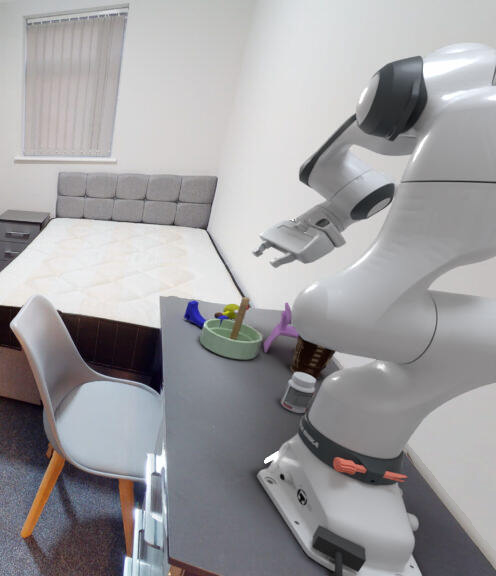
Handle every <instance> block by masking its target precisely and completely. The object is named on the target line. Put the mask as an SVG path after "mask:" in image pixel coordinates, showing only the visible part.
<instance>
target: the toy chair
mask: <svg viewBox="0 0 496 576" xmlns="http://www.w3.org/2000/svg"><path fill="white" fill-rule="evenodd" d="M291 311H292V308H291V307H290V305H289V302H285V303H284V310H282V311H281V315H280V321H279V322H278V323H276V325H275V326H274V327H273V329H272V331H271V333H269V336H268V337H267V338H266V339H265V341H264V342H263V350H264V353H267V352H268V350H269V349H270V347H271V345H272V344H273V343H274V341H275V340H276V339H277V338H278V337H281V336H283V337H288V338H294V339H297V340H298V333H297V331H296V329H295V327H294V326H291V325H293V322H292V317H291Z"/></svg>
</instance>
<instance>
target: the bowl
mask: <svg viewBox="0 0 496 576" xmlns="http://www.w3.org/2000/svg"><path fill="white" fill-rule="evenodd" d="M206 320H207V321H205V323H204V325H203V328H202V329H201V332H200V336H199V341H200V343H201V345H202V346H203V347H204V348H206V349H207V350H209V351H210V352H213V353H214V354H217V355H219V356H222V357H225V358H228V359H232V360H233V359H234V360H252V359H254V358H256V357H257V356H258V353H259V350H260V348H261V345H262V342H263V338H264V337H263V335H262V333H261V332H260V331H259V330H257V328H254V327H252V326H250V325H248V324H245V323H243V322H242V325H241V328H240V331H239V334H238V338H237V340H233V339H229V338H230V335H231V332H232V329H233V326H234V323H235V320H233V319H232V320H230V319H229V320H227V319H224V320H223V321H222V323H221V325H220V322H221V320H220V319H216V318H210V319H206ZM219 326H220V327H219Z"/></svg>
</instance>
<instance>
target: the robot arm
mask: <svg viewBox="0 0 496 576" xmlns="http://www.w3.org/2000/svg"><path fill="white" fill-rule="evenodd" d="M354 145H355V146H358V147H361V148H364V149H366V150H368V151H370V152H373V153H375V154H378V155H381V156H388V157H389V156H390V157H402V156H403V157H405V156H410V157H409V159H408V161H407V164H406V166H405V169H404V171H403V173H402V176H401V179H400V180H399V183H398V182H397V181H396V180H395V179H394V178H393V176H391V175H390V174H388V173H385V172H381V171H378V169H375V168H374V167H372V166H371V165H369V164H368V163H366V162H365V161H364V160H362V159H361V158H359V157H358V156H356V155H355V154H354V153H353V152H352V151H351V150H350V148H352V146H354ZM298 180H299V182H300V183H302V184H304V185H305V186H307V187H309V188H310V189H312V190H314V192H315V193H317V194H318V195H320V196H321V197H323V198H324V199H325V201H323V202H320V203H318V204H315V205H314V206H313V207H311V208H309V209H308V210H307V211H305V212H303V213H302V214H300V215H298V216H297V217H296V218H292V219H286V220H281V221H280V222H277V223H275V224H274V225H271V226H270V227H269V228H267V229H265V230H263V231H262V232H260V234H259V237H260V240H261V242H260V243H259V244H258V245H257V247H255V248H254V249H253V250H251V254H252V255H253V256H255V257H257V258H259V257H260V256H262V255H264V253H263V252H265V250H269V249H270V248H273V249H274V250H277V251H278V252H281V253H283V254H284V255H283V256H280V257H278V258H277V257H274V258H273V259H271V260H269V264H270V266H272V267H273V268H274V269H278V268H279V267H281V266H283V265H287V264H291V263H293V262H295V261H298V262H300V263H302V264H311V263H314V262H316V261H318V260H320V259H322V258H323V257H325V256H327V255H328V254H330V253H332V252H333V251H334V250H335V248H341V247H343V246H345V245H346V244H347V241H346V240H345V238H344V236H343V235H342V233H343V232H345V231H346V230H347V228H348V227H349V226H351V225H353V224H355V223H359V222H361V221H363V220H368V219H369V218H371V217H373V216H375V215H376V214H377V213H380V212H381V211H383V210H385V209H386V208H387V207H388V206H389V205H390V208H389V210H388V212H387V214H386V217H385V220H383V223H382V225H381V227H380V230H379V231H378V233H377V235H376V237H375V238H374V240H373V242H371V244H370V245H369V247H367V249H366V250H365V251H364V252H363V253H362V254H361V255H360V256H359V257H357V259H355V260H354V261H353V262H351V263H350V264H349V265H347V266H346V267H345V268H343V269H341V270H340V271H337V272H336V273H334V274H331V275H329V276H327V277H325V278H322V279H319V280H316V281H313V282H312V283H311V284H309V285H307V286H306V287H304V288H303V289H302V290H301V291H300V292H299V293H298V294H297V296H296V297H295V299H294V301H293V303H292V307H291V317H292V318H291V323H292V325H293V327H295V329H296V331H297V332H298V334H299V335H300V336H301V337H302V339H304V340H306V341H308V342H311V343H314V344H316V345H319V346H322V347H325V348H328V349H331V350H334V351H336V353H340V354H345V355H350V356H355V357H361V358H367V359H372V361H370V362H368V363H365V364H362V365H358V366H353V367H347V368H341V369H338V370H336V371H334V372H331V373H330V374H329V375H327V376H326V377H325V378H324V379H323V380H322V383H321V384H320V387H319V389H318V391H317V394H316V395H315V398H314V400H313V403H312V405H311V407H310V408H309V409H307V410H306V412H304V413H303V415H302V416H301V419H300V420H299V424H298V427H297V433H295V435H294V436H293V437H291V438H290V439H288V440H287V441H285V442H284V443H282V444H281V446H280V448H279V450H278V451H276V452H275V453H273V454H271V455H270V456H268V457H266V458H264V459H265V460H264V464H267V463H269V462H271V463H270V465H269V466H268V467H266V468H264V469H263V468H262V469H261V470H259V472H258V473H257V475H256V478H257V480H258V481H259V483H260V484H261V486H262V487H263V490H264V491H265V493H267V496H268V497H269V498H270V500H271V502H272V503H273V505H274V506H275V507H276V509H277V511H278V512H279V514H280V516H281V517H282V519H283V521H284V522H285V524H286V525H287V526H288V528H289V530H290V531H291V533H292V535H293V536H294V537H295V539H296V541H297V543H299V545H300V547H301V548H302V550H303V551H304V553H305V554H306V555H307V556H308V557H309V558H310V559H312V560H313V561H315V562H316V563H318V564H319V565H321V566H323V567H324V568H327V569H328V570H330V571H332V572H333V573H334V576H423V574H422V572H421V570H420V568H419V566H418V564H417V562H416V559H415V558H414V555H413V553H414V552H413V551H414V549H415V546H416V545H415V543H416V538H415V535H414V532H416V531H417V530H418V529H419V525H420V524H419V519H418V518H417V516H416V515H414V514H412V513H409V512H407V509H406V506H405V502H404V498H403V494H404V493H403V489H402V488H400V486H399V482H402V483H405V480H404V479H407V478H408V476H407V475H405V474H402V468H403V466H404V451H403V450H404V448H405V447H406V445H407V443H408V442H409V441H410V439H411V437H412V436H413V435H414V434H415V432H416V431H417V429H418V428H419V426H420V425H421V424H422V422H423V421H424V420H425V419H426V418H428V416H429V415H430V414H431V413H433V412H434V411H435V410H436V409H438V408H439V407H441V406H442V405H444V404H446V403H448V402H449V401H451V400H454V399H455V398H457V397H459V396H461V395H463V394H466V393H468V392H470V391H473V390H476V389H478V388H482V387H485V386H488V385H493V384H496V299H494V298H492V297H491V298H490V297H486V296H481V295H472V294H464V293H459V292H458V293H457V292H449V291H442V290H434V289H429V288H430V287H431V286H432V284H433V283H434V282H435V281H437V279H439V278H440V277H441V276H443V275H445V274H446V273H448V272H449V271H452V270H453V269H456V268H460V267H463V266H469V265H473V264H477V263H481V262H484V261H488V260H491V259H493V258H495V257H496V49H495V48H494V47H492V46H490V45H488V44H485V43H482V42H474V41H469V42H468V41H466V42H465V41H464V42H458V43H453V44H452V43H451V44H448V45H445V46H443V47H440V48H437V49H435V50H434V51H431V52H429V53H428V54H426V55H425V56H421V55H415V56H410V57H406V58H401V59H397V60H394V61H391V62H388V63H386V64H385V65H383V66H382V67H381V68H380V69H378V70H377V71H376V72H375V73H374V74H373V75H372V77H371V79H370V80H369V81H368V82H367V83H366V85H365V86H364V87H363V89H362V91H361V92H360V95H359V97H358V99H357V102H356V106H355V113H353V114H352V115H351V116H350V117H348V118H347V119H346V120H345V121H344V122H343V123H342V124H341V125H339V127H338V128H337V129H336V130H335V131H334V132H333V133H332V134H331V135H330V136H329V137H328V138H327V139H326V140H325V142H323V143H322V144H321V146H320V147H319V148H318V149H317V150H316V151H315V152H314V153H313V154H312V155H309V157H308V158H307V159H306V160H305V161H304V162H303V163H302V164H301V165H300V167H299V171H298Z"/></svg>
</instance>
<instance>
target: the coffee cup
mask: <svg viewBox="0 0 496 576" xmlns="http://www.w3.org/2000/svg"><path fill="white" fill-rule="evenodd" d="M297 333H298V332H297ZM336 353H337V351H334V350H331V349H328V348H325V347H322V346H319V345H316V344H314V343H311V342H308V341H306V340H304V339H302V337H301V336H300V335H299V334H298V339H297V341H296V343H295V347H294V353H293V356H292V360H291V361H292V363H291V365H290V367H289V368H290V370H291V372H292V373H293V374H294V373H295V372H302V373H306V374H308V375H311V376H312V377H314V378H315V379H316V380H317V379H320V378H321V377H322V373H321V372H322V371H323V370H325V369H326V368H327V366H328V365H329V363H330V361H331V360H332V358H333V357H334V355H335V354H336Z"/></svg>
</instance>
